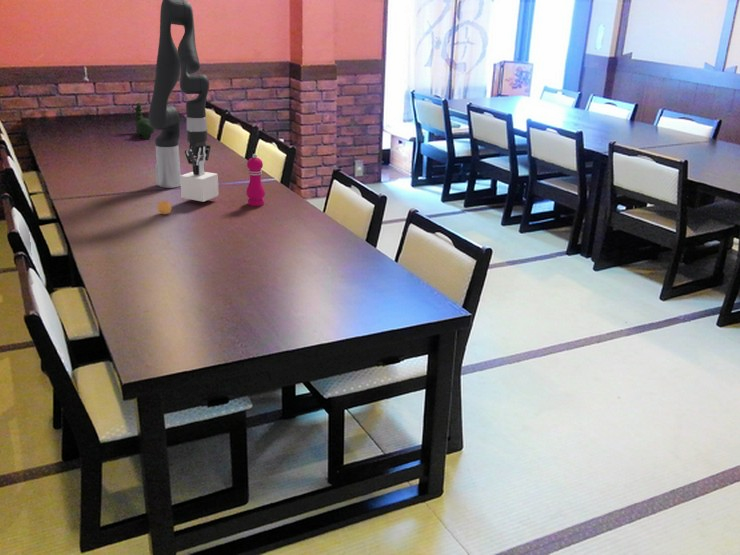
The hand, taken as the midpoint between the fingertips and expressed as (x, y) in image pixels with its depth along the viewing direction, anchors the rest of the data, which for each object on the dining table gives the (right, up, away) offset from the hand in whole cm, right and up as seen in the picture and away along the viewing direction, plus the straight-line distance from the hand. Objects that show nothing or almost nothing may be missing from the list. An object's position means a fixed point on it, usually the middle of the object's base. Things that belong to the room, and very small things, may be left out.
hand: (199, 173), depth 265 cm
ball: (-10, -15, -13) cm, 22 cm away
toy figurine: (-61, +39, +119) cm, 139 cm away
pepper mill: (+21, -12, +5) cm, 25 cm away
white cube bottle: (0, -9, +4) cm, 9 cm away
